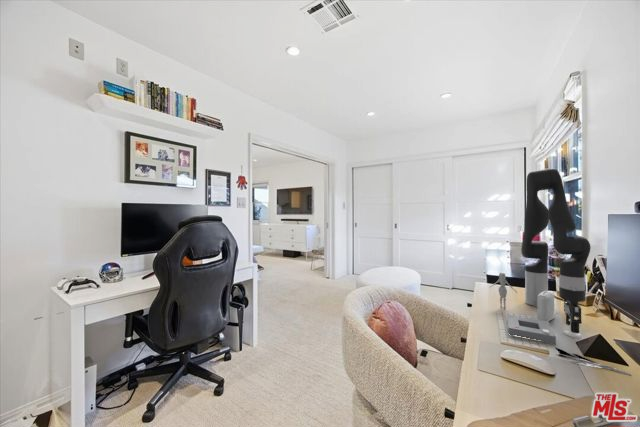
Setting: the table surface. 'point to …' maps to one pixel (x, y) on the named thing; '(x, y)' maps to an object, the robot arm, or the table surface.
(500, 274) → the human figurine
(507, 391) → the table surface
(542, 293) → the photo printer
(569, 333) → the chess piece
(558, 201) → the robot arm
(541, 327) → the socket plate
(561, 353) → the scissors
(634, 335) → the table surface
